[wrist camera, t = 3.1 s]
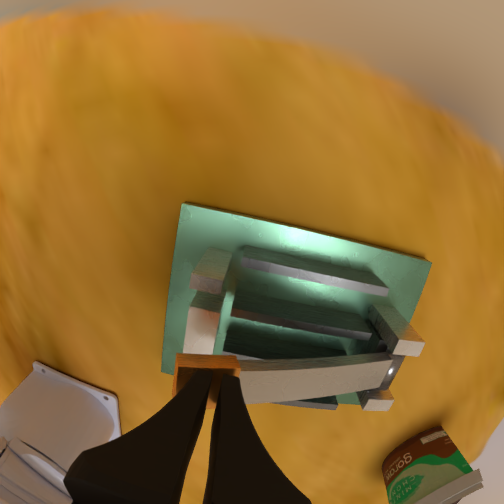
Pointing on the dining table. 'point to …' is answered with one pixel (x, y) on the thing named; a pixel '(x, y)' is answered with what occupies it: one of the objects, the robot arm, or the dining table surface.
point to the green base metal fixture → (288, 296)
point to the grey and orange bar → (290, 375)
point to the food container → (429, 471)
